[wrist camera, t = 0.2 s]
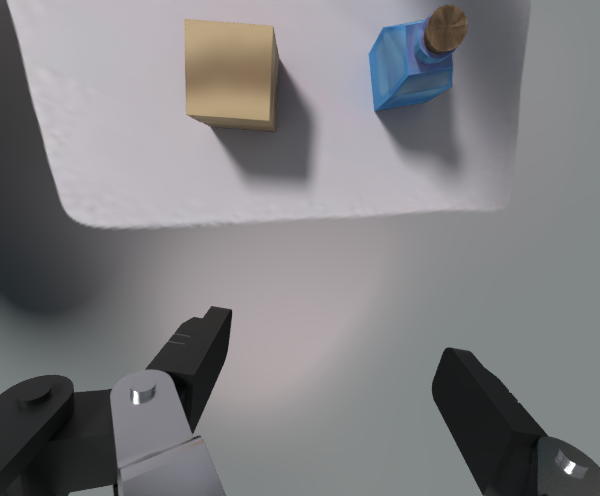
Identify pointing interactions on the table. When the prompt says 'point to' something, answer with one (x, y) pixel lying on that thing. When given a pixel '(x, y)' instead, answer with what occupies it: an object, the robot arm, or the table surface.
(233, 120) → the tower top block
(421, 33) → the perfume bottle
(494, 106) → the table surface
